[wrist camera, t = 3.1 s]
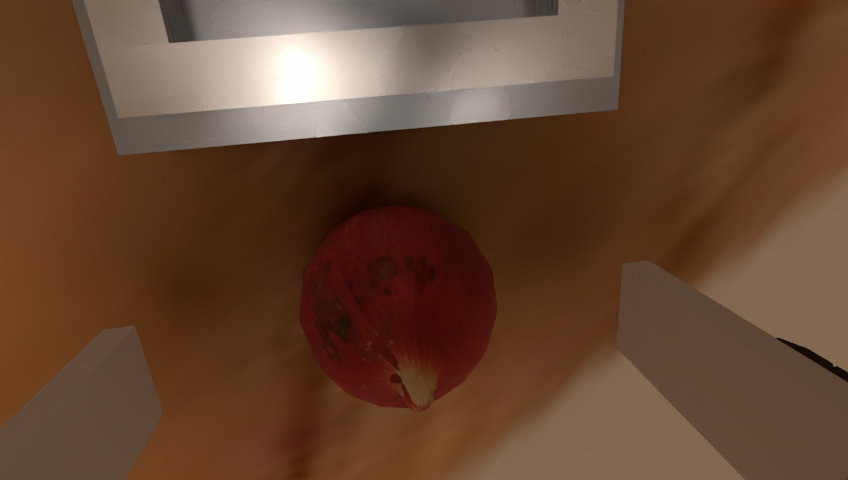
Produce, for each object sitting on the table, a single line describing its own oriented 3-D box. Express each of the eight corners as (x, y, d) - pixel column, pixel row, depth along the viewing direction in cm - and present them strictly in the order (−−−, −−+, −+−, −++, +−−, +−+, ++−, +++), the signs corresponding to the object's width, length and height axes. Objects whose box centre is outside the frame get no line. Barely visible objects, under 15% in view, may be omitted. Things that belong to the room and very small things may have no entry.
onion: (284, 281, 17) (224, 438, 10) (364, 150, 16) (366, 215, 9) (414, 347, 19) (448, 524, 11) (496, 232, 18) (594, 347, 10)
